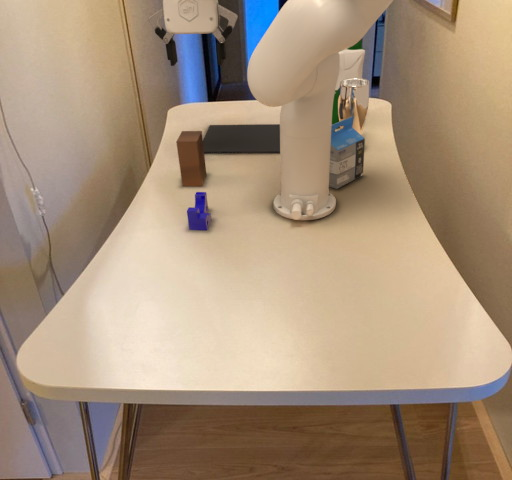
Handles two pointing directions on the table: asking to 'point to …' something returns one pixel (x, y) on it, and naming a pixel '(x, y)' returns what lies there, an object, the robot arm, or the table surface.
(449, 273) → the table surface
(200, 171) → the walnut block
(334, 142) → the label tape box
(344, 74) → the milk carton
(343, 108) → the silver metal cup
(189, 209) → the cable holder
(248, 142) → the mat
